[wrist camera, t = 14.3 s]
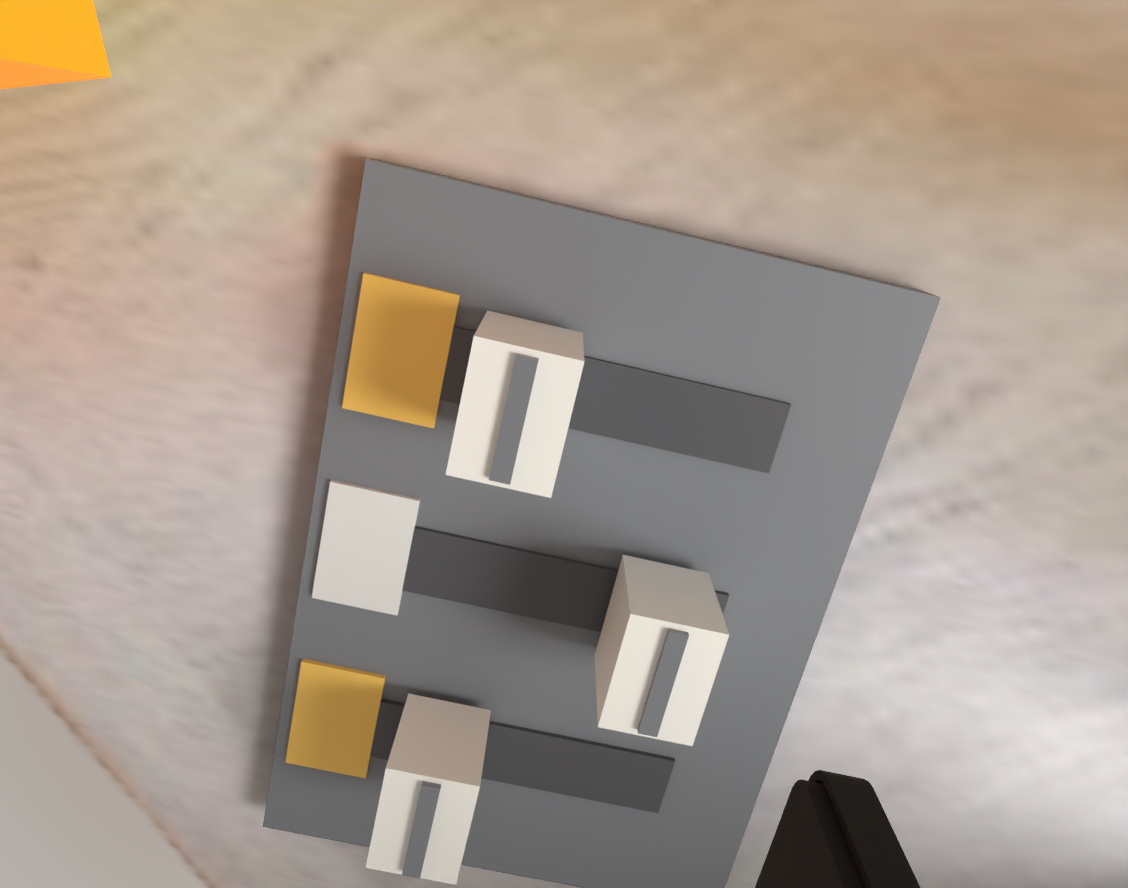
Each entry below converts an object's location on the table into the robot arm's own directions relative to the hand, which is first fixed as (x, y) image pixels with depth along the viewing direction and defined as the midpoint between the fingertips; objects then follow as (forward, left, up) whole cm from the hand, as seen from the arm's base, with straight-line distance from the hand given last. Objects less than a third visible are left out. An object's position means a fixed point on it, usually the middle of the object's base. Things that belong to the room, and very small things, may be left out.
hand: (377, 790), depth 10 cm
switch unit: (-8, +1, -20) cm, 22 cm away
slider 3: (-9, -1, -19) cm, 21 cm away
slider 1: (-11, +8, -19) cm, 24 cm away
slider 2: (0, -1, -19) cm, 19 cm away
